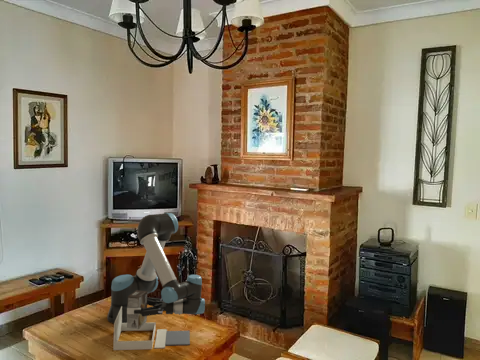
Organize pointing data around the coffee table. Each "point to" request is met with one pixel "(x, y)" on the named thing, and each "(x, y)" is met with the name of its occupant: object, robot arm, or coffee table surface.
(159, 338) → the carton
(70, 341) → the coffee table surface
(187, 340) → the mat
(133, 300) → the coffee box
